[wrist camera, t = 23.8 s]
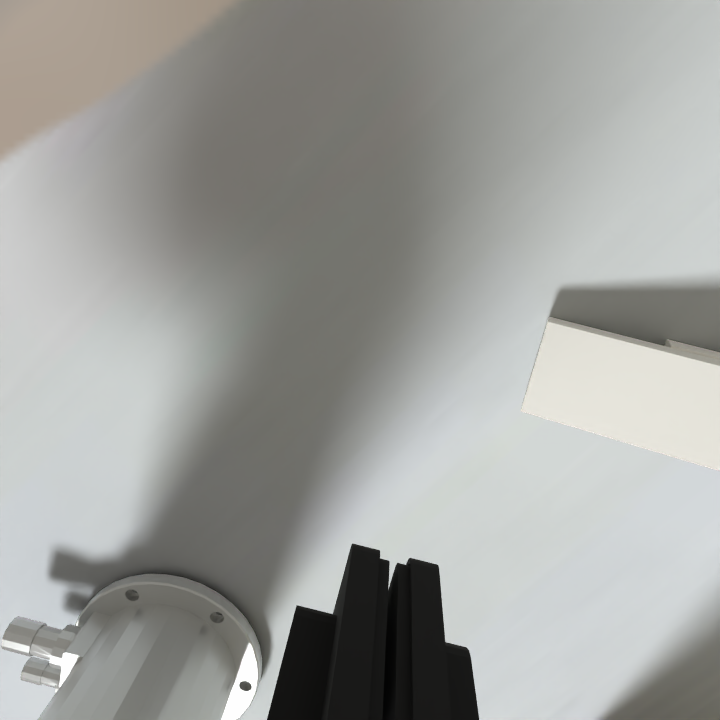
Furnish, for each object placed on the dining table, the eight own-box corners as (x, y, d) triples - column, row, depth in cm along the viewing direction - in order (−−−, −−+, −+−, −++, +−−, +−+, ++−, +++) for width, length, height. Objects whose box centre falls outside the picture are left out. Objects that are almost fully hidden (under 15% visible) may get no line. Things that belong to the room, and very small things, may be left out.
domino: (520, 411, 32) (724, 472, 29) (547, 321, 30) (765, 377, 27) (522, 402, 33) (717, 459, 30) (549, 316, 32) (755, 369, 29)
